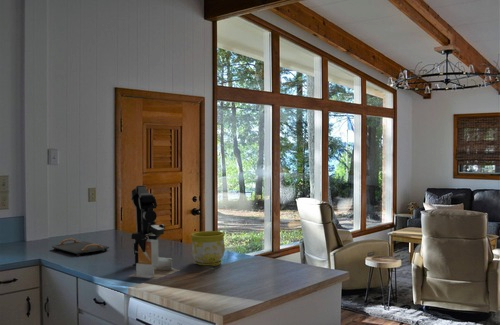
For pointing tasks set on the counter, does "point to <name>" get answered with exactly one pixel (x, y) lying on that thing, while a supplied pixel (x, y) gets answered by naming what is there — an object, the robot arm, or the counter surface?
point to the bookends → (148, 269)
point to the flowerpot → (208, 247)
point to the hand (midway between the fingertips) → (148, 250)
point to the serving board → (79, 247)
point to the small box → (149, 253)
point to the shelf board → (160, 273)
